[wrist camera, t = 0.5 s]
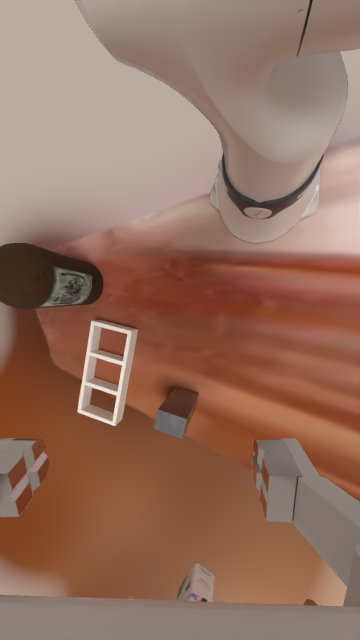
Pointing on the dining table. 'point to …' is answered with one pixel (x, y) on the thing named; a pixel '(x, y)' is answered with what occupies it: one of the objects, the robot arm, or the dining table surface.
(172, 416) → the dark grey metallic block
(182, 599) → the ink box
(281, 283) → the dining table surface
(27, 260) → the olive oil
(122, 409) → the rack
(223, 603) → the robot arm
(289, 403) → the dining table surface
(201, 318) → the dining table surface
